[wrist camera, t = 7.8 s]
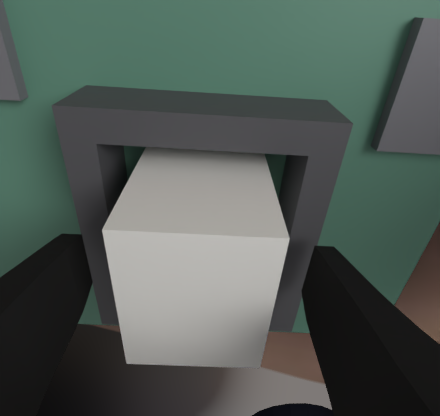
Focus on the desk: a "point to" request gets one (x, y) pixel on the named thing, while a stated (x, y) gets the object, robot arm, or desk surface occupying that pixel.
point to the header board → (226, 122)
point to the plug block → (196, 258)
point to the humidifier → (295, 410)
